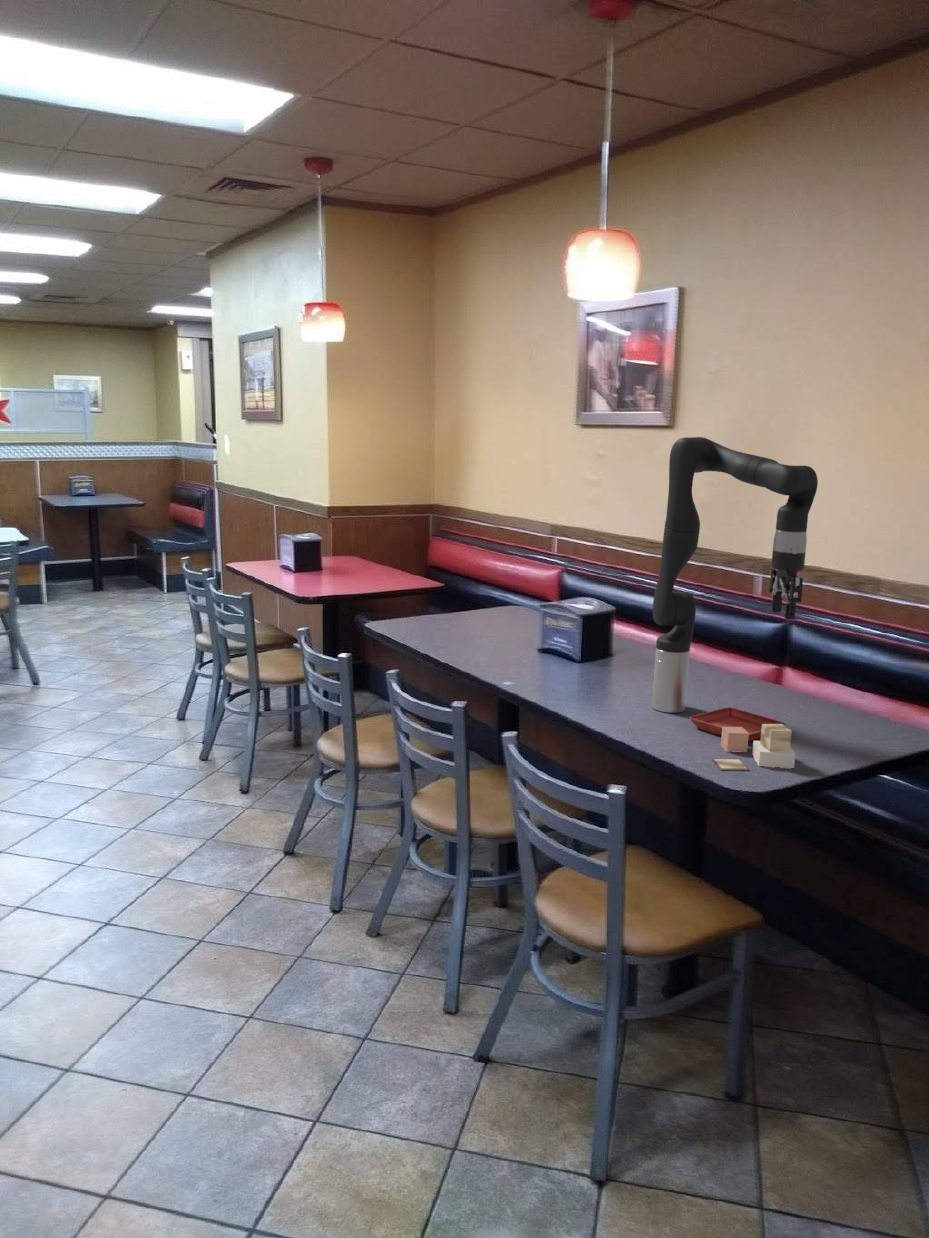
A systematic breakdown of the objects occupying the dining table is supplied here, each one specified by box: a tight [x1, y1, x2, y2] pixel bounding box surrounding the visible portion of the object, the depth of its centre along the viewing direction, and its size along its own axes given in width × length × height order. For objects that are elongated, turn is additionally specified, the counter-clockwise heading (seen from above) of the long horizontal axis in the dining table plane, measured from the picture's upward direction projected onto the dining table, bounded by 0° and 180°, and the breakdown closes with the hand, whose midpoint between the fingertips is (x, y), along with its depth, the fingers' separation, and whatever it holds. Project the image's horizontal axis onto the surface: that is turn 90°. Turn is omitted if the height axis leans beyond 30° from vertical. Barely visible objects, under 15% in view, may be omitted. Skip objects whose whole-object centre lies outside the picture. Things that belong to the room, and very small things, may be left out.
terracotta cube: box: [720, 727, 749, 753], centre depth 227 cm, size 5×5×5 cm
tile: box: [711, 758, 750, 772], centre depth 216 cm, size 7×7×1 cm
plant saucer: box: [689, 706, 787, 742], centre depth 242 cm, size 18×18×3 cm
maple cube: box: [759, 724, 792, 751], centre depth 218 cm, size 5×5×5 cm
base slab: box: [751, 740, 796, 769], centre depth 219 cm, size 8×8×4 cm
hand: (782, 615), depth 225 cm, fingers open, 8 cm apart
